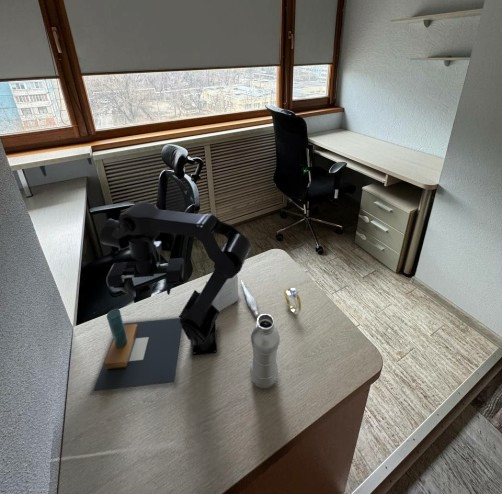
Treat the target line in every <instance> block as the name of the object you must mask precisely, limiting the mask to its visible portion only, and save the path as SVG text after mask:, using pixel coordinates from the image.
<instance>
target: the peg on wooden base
mask: <svg viewBox="0 0 502 494" xmlns="http://www.w3.org/2000/svg"><path fill="white" fill-rule="evenodd" d="M106 319H107V322H108V326H109V329H110V332H111V334H112V340H113V339H114V340H113V342H112V341H111V342H112V345H111V344H110V345H111V347H110V346H109V348H110V350H109V349H108V350H109V352H108V351H107V353H108V355H107V354H106V356H107V358H106V357H105V358H106V360H105V359H104V361H105V363H104V362H103V364H104V365H105V368H106V369H108V371H110V370H121V369H127V366H128V362H129V359H130V356H131V353H132V350H133V347H134V343H135V340H136V337H137V334H138V326H137V324H131V325H124V324H123V323H124V321H123V317H122V313H121V311H120V309H119V308H113V309H111V310H109V311H108V312H107V315H106Z"/></svg>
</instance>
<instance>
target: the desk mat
mask: <svg viewBox="0 0 502 494" xmlns="http://www.w3.org/2000/svg"><path fill="white" fill-rule="evenodd" d="M180 319H181V318H179V317H175V318H167V319H166V318H165V319H156V320H155V319H154V320H146V321H145V320H144V321H134V322H133V321H132V322H123V324H124V325H131V324H137V326H138V334H137V337H136V340H135V343H134V347H133V350H132V353H131V356H130V359H129V362H128V366H127V369H121V370H110V371H108V369H106V368H105V365H104V363H105V360H106V358H107V355H108V352H109V350H110V347H111V345H112V342H113V340H114V339H113V338H112V340H111V343H110V345H109V348H108V350H107V353H106V356H105V358H104V361H103V363H102V366H101V369H100V371H99V374H98V376H97V379H96V382H95V385H94V387H93V390H92V392H99V391H108V390H118V389H126V388H133V387H142V386H143V387H144V386H151V385H152V386H153V385H160V384H161V385H162V384H168V383H175V381H176V374H177V366H178V360H179V354H180V353H179V351H180V345H181V338H182V331H183V328H182V324H180Z"/></svg>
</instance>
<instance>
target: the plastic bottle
mask: <svg viewBox="0 0 502 494" xmlns="http://www.w3.org/2000/svg"><path fill="white" fill-rule="evenodd" d="M280 340H281V336H280V333H279V330H278V329H277V327H276V326H275V320H274V318H273V316H272V315H270V314H267V313H263V314H260V315H258V317H257V319H256V325H255V326H254V328H253V329H252V332H251V334H250V342H251V346H252V361H251V365H250V377H251V380H252V382H253V383H254V385H255V386H257V387H258V388H261V389H267V388H271V387H272V386H273V385H274V384H275V383H276V381H277V377H278V374H279V369H278V363H277V353H278V349H279V345H280V342H281V341H280Z"/></svg>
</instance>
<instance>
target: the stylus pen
mask: <svg viewBox="0 0 502 494" xmlns="http://www.w3.org/2000/svg"><path fill="white" fill-rule="evenodd" d="M240 283H241V284H240V285H241V287H242V290H243V293H244V296H245V299H246V305H247V306H248V308H249V309H250V310H251V312H253V315H254V316H255V318H258V317H259V316H260V315H259V311H258V306H257V302H256V299H255V298H254V297H253V296H252V294H251V293H250V291H249V290H248V288H247V286H246V285H245V283H244V282H243V280H242V279H240Z"/></svg>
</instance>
